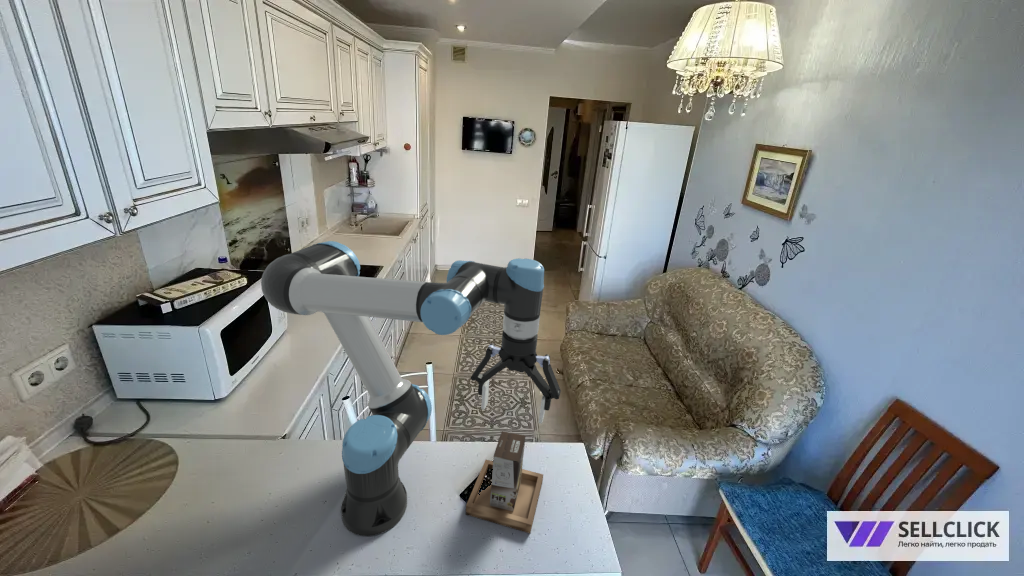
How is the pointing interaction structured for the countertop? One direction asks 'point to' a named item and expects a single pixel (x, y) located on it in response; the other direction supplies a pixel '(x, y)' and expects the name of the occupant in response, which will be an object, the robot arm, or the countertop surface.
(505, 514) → the wooden tray
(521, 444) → the coffee box
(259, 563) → the countertop surface
